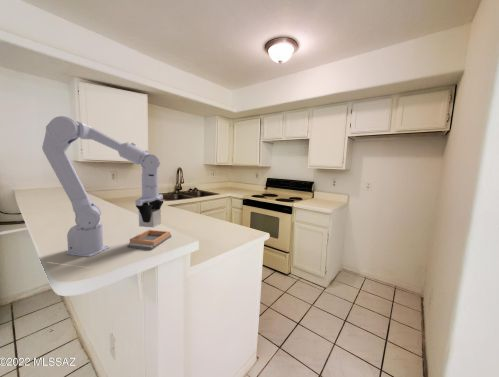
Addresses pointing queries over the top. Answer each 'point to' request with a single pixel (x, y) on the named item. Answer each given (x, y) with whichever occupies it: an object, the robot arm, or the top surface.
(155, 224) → the brushed metal cube
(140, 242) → the frame
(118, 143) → the robot arm
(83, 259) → the top surface
